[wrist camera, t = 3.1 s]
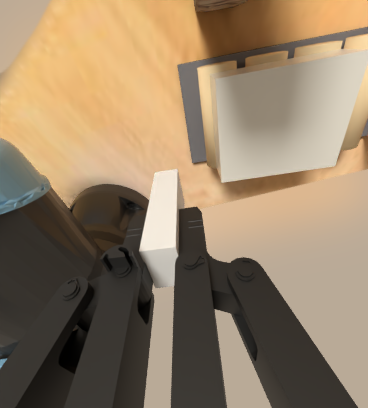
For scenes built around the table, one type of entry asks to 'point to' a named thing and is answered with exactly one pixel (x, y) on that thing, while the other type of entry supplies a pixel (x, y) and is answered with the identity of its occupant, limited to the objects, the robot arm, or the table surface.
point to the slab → (284, 113)
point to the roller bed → (240, 58)
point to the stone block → (215, 4)
